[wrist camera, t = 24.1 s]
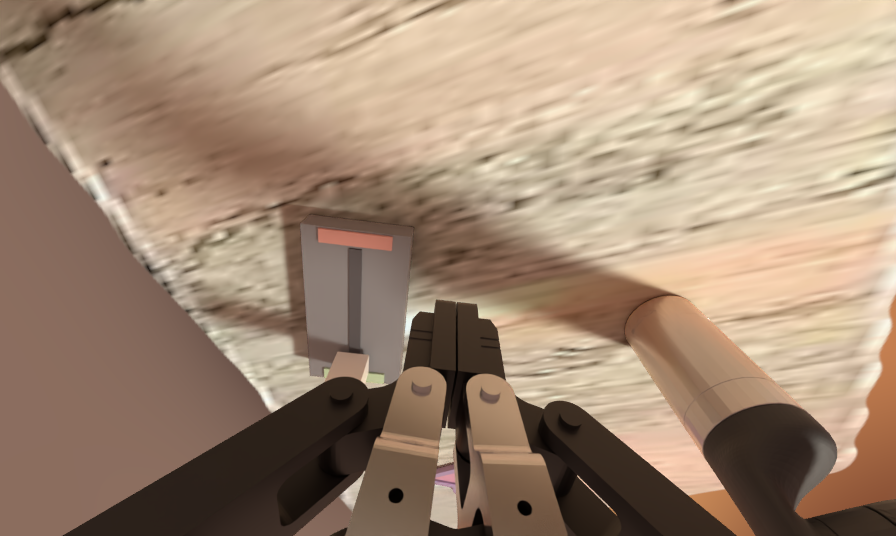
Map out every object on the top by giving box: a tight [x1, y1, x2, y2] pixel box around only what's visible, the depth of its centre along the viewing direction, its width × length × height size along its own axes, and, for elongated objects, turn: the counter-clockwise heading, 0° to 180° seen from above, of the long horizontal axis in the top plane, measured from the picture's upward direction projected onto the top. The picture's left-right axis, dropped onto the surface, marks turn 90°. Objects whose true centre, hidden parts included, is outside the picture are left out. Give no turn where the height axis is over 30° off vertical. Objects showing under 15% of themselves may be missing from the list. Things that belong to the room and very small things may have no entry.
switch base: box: [300, 214, 414, 384], centre depth 46 cm, size 12×22×3 cm, turn 173°
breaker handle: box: [325, 352, 369, 384], centre depth 41 cm, size 5×4×13 cm
